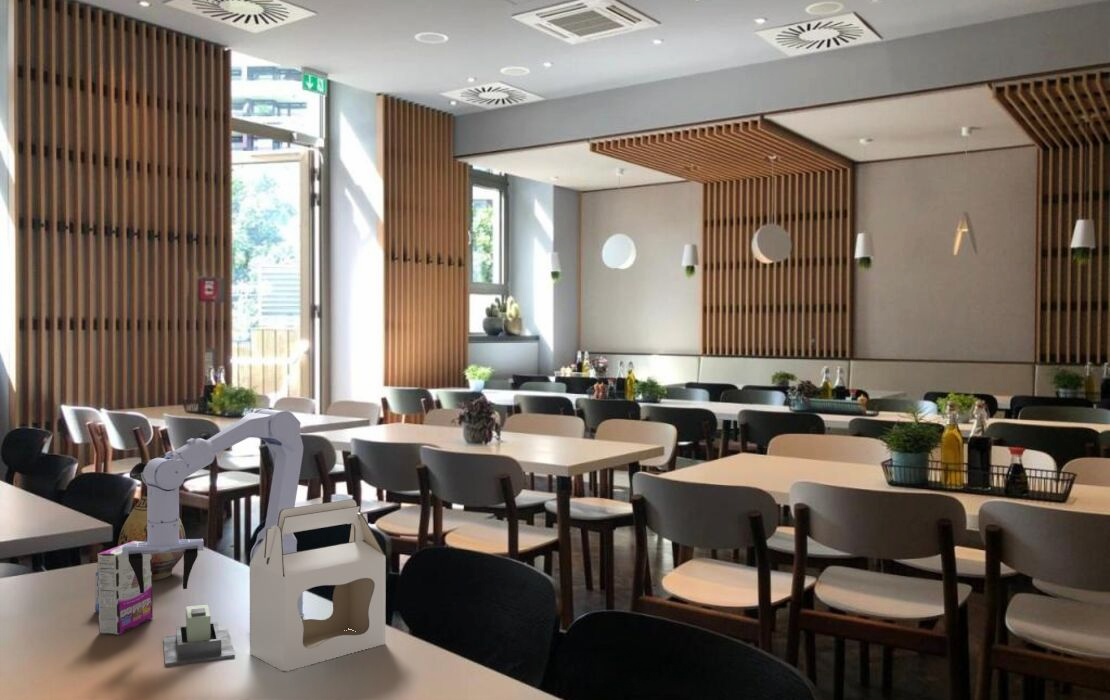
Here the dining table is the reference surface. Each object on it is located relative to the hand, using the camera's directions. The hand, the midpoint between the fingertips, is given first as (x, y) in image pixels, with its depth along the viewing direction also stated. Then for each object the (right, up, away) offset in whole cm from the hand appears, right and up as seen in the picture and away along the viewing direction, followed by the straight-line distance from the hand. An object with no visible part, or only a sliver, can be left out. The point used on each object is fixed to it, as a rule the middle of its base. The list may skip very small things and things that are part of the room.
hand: (163, 589), depth 182 cm
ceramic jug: (-23, -9, +49) cm, 55 cm away
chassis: (+8, -11, -3) cm, 13 cm away
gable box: (+31, -11, -3) cm, 33 cm away
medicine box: (-19, -10, +20) cm, 30 cm away
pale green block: (+8, -9, -2) cm, 12 cm away
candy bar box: (-12, -10, +10) cm, 19 cm away
